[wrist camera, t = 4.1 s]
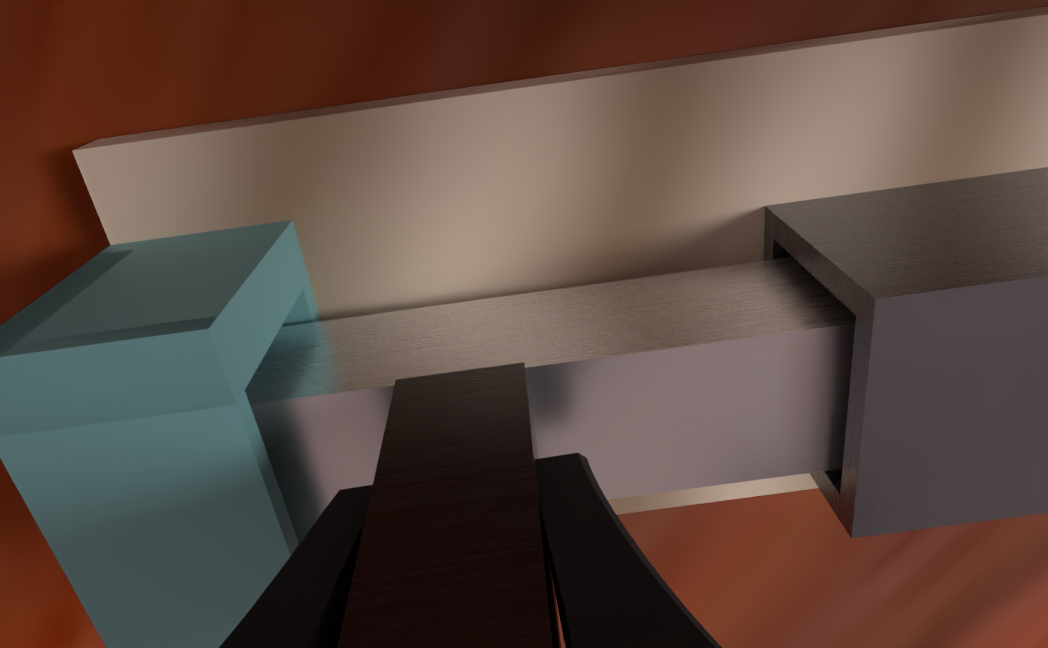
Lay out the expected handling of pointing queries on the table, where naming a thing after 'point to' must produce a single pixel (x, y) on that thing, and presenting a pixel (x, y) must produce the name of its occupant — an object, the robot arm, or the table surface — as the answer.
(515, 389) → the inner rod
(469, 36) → the table surface
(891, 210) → the outer sleeve
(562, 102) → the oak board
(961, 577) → the table surface
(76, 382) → the bracket socket
